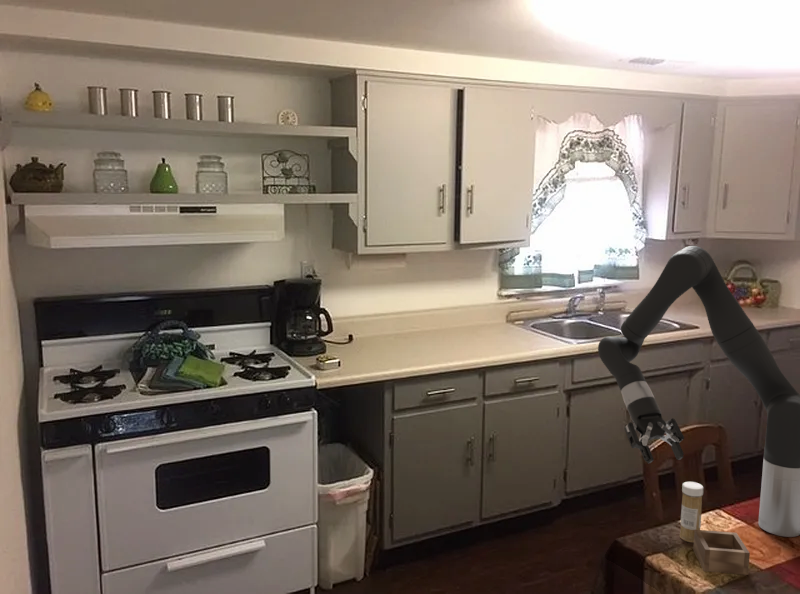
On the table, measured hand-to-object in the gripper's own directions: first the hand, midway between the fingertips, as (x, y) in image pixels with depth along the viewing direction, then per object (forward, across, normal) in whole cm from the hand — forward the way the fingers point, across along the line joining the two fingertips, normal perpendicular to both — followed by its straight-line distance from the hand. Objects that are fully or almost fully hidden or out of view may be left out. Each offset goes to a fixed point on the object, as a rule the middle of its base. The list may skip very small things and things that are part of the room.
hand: (665, 460), depth 168 cm
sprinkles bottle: (+18, 0, +4) cm, 19 cm away
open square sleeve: (+26, -1, -4) cm, 26 cm away
